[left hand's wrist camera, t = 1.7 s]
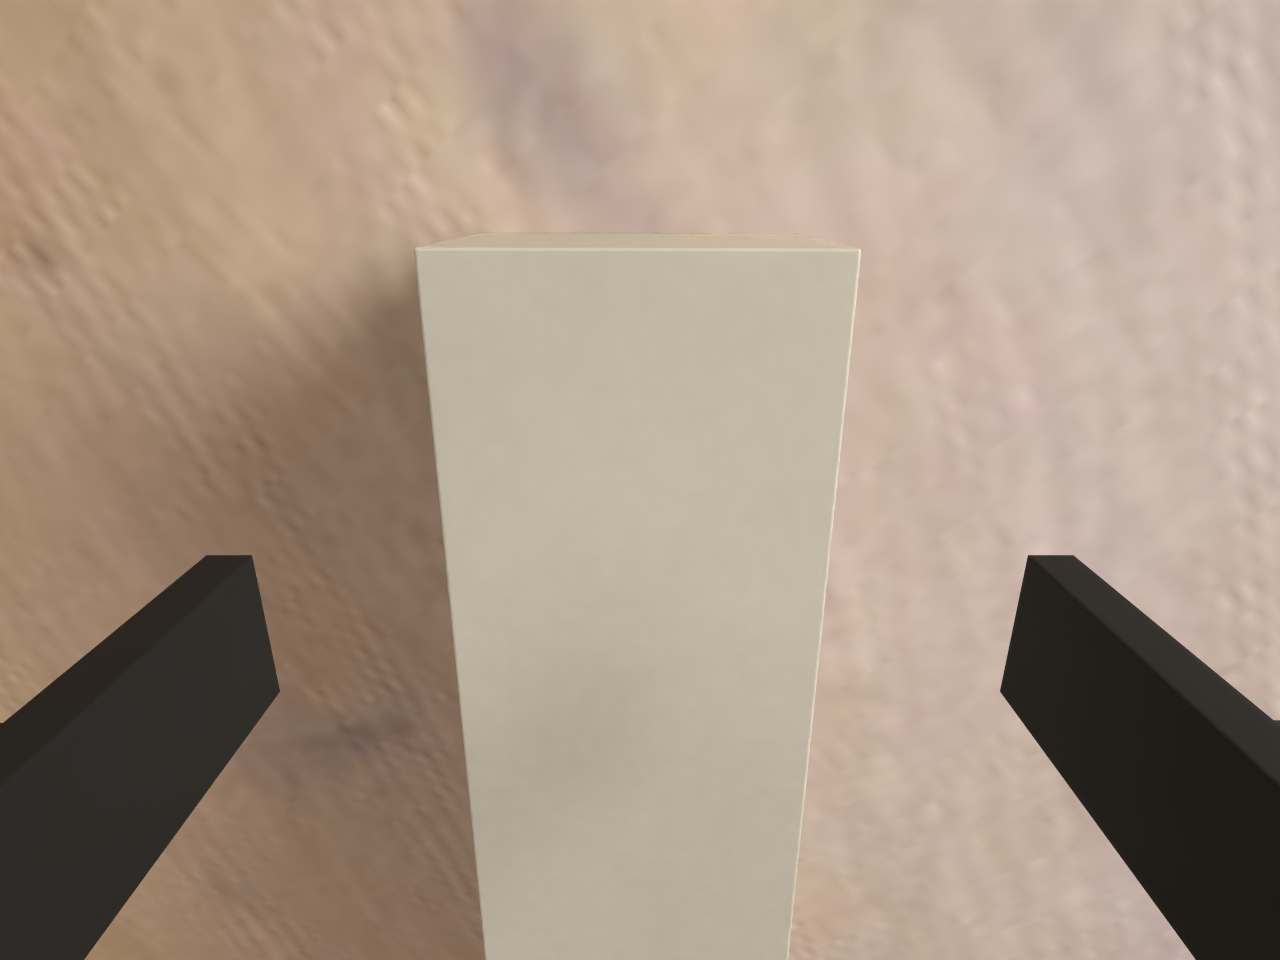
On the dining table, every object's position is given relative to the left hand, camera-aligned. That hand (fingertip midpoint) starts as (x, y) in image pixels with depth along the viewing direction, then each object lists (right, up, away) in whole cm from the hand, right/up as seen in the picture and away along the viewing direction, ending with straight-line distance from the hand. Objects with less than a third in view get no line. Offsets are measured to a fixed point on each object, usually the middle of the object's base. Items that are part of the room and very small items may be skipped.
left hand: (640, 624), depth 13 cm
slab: (0, -16, +19) cm, 25 cm away
